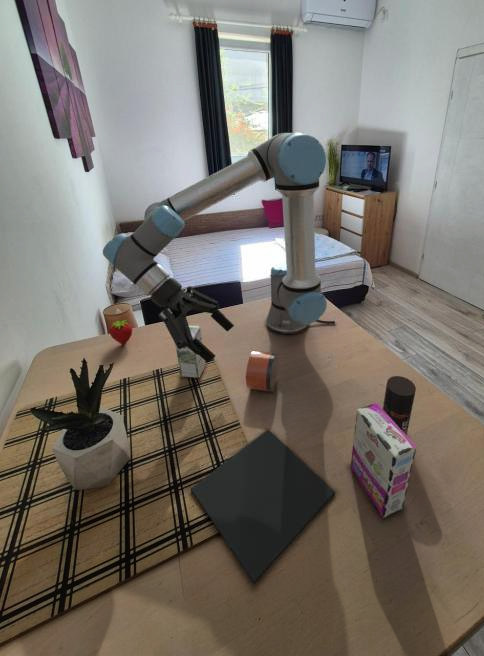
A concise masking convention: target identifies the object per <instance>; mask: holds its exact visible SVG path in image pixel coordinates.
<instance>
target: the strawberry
mask: <svg viewBox="0 0 484 656" xmlns="http://www.w3.org/2000/svg"><path fill="white" fill-rule="evenodd" d="M111 324H112V325H110V326H109V328H108V333H109V335H110V336H111V338H112V339H113V340H115V341H116V342H117V343H119V344H121V345H122V346H125V345H126V344H127V343H128V341H130V339H131V337H132V335H133V327H132V325H131V324H130V323H129V322H127V319H125V320H122V321H120V320H117V321H116V322H111Z"/></svg>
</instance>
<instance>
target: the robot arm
mask: <svg viewBox="0 0 484 656" xmlns="http://www.w3.org/2000/svg"><path fill="white" fill-rule="evenodd" d="M326 155H327V154H326V151H325V148H324V146H323V145H322V144H321V141H319V140H318V139H317V138H316V137H314V136H313V135H311V134H308V133H304V132H297V131H296V132H281V133H278V134H276V135H273V136H272V137H270V138H268V139H267V140H265V141H264V142H262V143H260V144H259V145H257V146H255V147H253V148H251V149H249V150H248V152H247V155H246V156H244V157H243V158H241V159H239V160H237V161H236V162H233V163H231V164H230V165H228V166H225V167H223V168H222V169H220V170H218V171H217V172H215V173H212V174H210V175H209V176H207V177H205V178H203V179H201V180H199V181H197V182H195V183H193V184H191V185H189V186H188V187H186V188H183V189H182V190H180V191H178V192H176V193H175V194H173V195H170V196H168V197H167V198H165V199H163V200H161V201H157V202H152V203H151V204H149V206H147V208H146V209H145V211H144V218H143V222H142V223H141V224H140V225H139V227H137V229H136V230H135V231H134V232H133V233H132V234H130V235H128V234H127V233H125V232H122V233H119V234H117V235H116V236H114V237H112V239H110V240H109V241H108V242H107V243H106V244H105V246H104V247H103V249H102V255H103V257H104V258H105V259H106V260H107V261H108V262H109V263H110V264H111V265H112V267H113V268H114V269H116V270H117V271H118V272H120V273H121V274H122V275H123V276H124V277H126V278H127V279H128V280H129V281H130V282H131V283H133V285H135V286H136V287H137V288H138V289H139V290H140V291H141V292H143V293H144V295H146V296H150V300H151V301H152V302H153V303H154V304H155V305H156V306H158V307H159V308H163V310H162V311H161V312H160V313H159V314H158V318H159V319H160V320H161V321H162V322H163V324H164V325H165V327H166V329H167V331H168V333H169V335H170V336H171V338H172V340H173V343H174V345H175V344H176V346H177V348H178V349H182V348H185V347H188V348H189V349H190V350H192V351H193V352H194V353H195V354H197V355H199V356H201V357H202V358H203V359H204V360H205V363H207V364H208V363H210V362H211V361H212V360H213V359H214V358H215V357H216V354H215V353H214V352H213V351H211V350H210V349H209V348H208V347H207V346H206V345H205V344H204V343H203V342H202V343H201V342H200V341H199V340H198V339H197V338H195V339H194V340H193V338H192V335H191V331H190V328H189V326H190V325H189V322H188V319H187V314H188V313H189V312H190V311H192V310H194V311H199V312H202V313H203V312H204V313H207V314H211V315H210V317H211V318H212V320H214V321H215V322H216V323H217V324H218V325H219V326H220V327H221V328H223V329H224V330H225V331H226V332H229V331H230V330H231V329H233V328H234V326H235V324H234V323H233V322H232V321H230V320H229V319H228V318H227V317H226V315H225V314H224V313H223V312H222V311H221V310H220V309H219V308H220V305H219V302H218V300H216V299H213V298H212V297H211V296H208V295H205V294H203V293H201V292H199V291H197V290H196V289H195V288H193V287H192V286H190V285H189V286H187V287H186V288H185V289H184V290H182V288H183V285H182V284H181V283H180V282H179V281H178V280H177V279H176V278H174V277H173V276H171V274H170V273H169V272H168V271H167V270H166V269H165V268H164V267H163V266H162V265H161V264H160V263H158V262H157V261H156V260H155V258H156V257H157V256H159V254H160V253H161V252H162V251H163V250H164V249H165V248H166V247H167V246H168V245H169V244H170V243H171V242H172V241H173V240H174V239H176V238H177V237H178V236H179V235H180V233H181V232H182V231H183V229H184V228H185V226H186V224H185V221H187V220H189V219H191V218H192V217H194V216H196V215H198V214H200V213H201V212H204V211H205V210H207V209H209V208H211V207H213V206H214V205H217V204H220V202H222V201H224V200H226V199H228V198H230V197H232V196H233V195H236V194H237V193H240V192H241V191H243V190H245V189H247V188H248V187H250V186H252V185H254V184H256V183H258V182H262V183H265V182H267V181H269V180H271V179H274V178H275V190H276V191H277V192H278V193H279V194H280V195H281V198H282V216H283V217H282V218H283V231H284V232H283V234H284V248H285V249H284V250H285V262H281V263H277V264H275V265H273V266H272V267H271V268H270V274H269V276H270V300H271V303H270V307H269V310H268V313H267V316H266V326H267V328H268V329H269V330H270V331H272V332H274V333H276V334H280V335H295V334H299V333H302V332H303V331H305V330H306V329H307V327H308V326H309V325H310V324H313V323H320V324H328V325H329V324H333V325H334V324H336V321H335V320H323V319H322V320H321V319H320V318H321V317H322V316H323V315H324V314H325V313H326V310H327V307H328V303H327V299H326V297H325V295H324V294H323V293H322V286H321V284H322V283H321V281H322V280H321V279H322V278H321V276H320V275H319V274H318V273H317V272H316V239H315V193H316V192H317V190H318V189H319V188H320V178H321V176H322V174H324V172H325V169H326V165H327V156H326ZM170 276H171V277H170ZM180 341H181V342H180ZM176 346H175V347H176Z"/></svg>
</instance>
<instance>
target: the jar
mask: <svg viewBox="0 0 484 656" xmlns="http://www.w3.org/2000/svg"><path fill="white" fill-rule="evenodd" d="M278 372H279V355H278V353H276V352H268V351H260V350H253V351H251V353H250V355H249V357H248V361H247V365H246V372H245V385H246V388H247V389H249V390H256V391H262V392H263V391H264V392H274V390H275V386H276V383H277V379H278V378H277V377H278Z"/></svg>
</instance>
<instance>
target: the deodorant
mask: <svg viewBox="0 0 484 656" xmlns="http://www.w3.org/2000/svg"><path fill="white" fill-rule="evenodd" d="M416 387H417V386H416V385H415V383H414V382H413V381H412V380H410V379H409V378H407V377H404V376H401V375H394V376H390V377H389V378H387V381H386V386H385V392H384V399H383V403H382V405H383V406H382V409H383V410H384V411H385V412H386V414H387V415H388V416H389V417H390V418H391V419H392V420H393V421H394V422H395V424H396V425H397V426H398V427H399V428H400V429H401V430H402V431H403V432H404V434H405V435H406V436H407V437H408V430H409V426H410V420H411V415H412V411H413V406H414V401H415V397H416V390H417V388H416Z"/></svg>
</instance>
